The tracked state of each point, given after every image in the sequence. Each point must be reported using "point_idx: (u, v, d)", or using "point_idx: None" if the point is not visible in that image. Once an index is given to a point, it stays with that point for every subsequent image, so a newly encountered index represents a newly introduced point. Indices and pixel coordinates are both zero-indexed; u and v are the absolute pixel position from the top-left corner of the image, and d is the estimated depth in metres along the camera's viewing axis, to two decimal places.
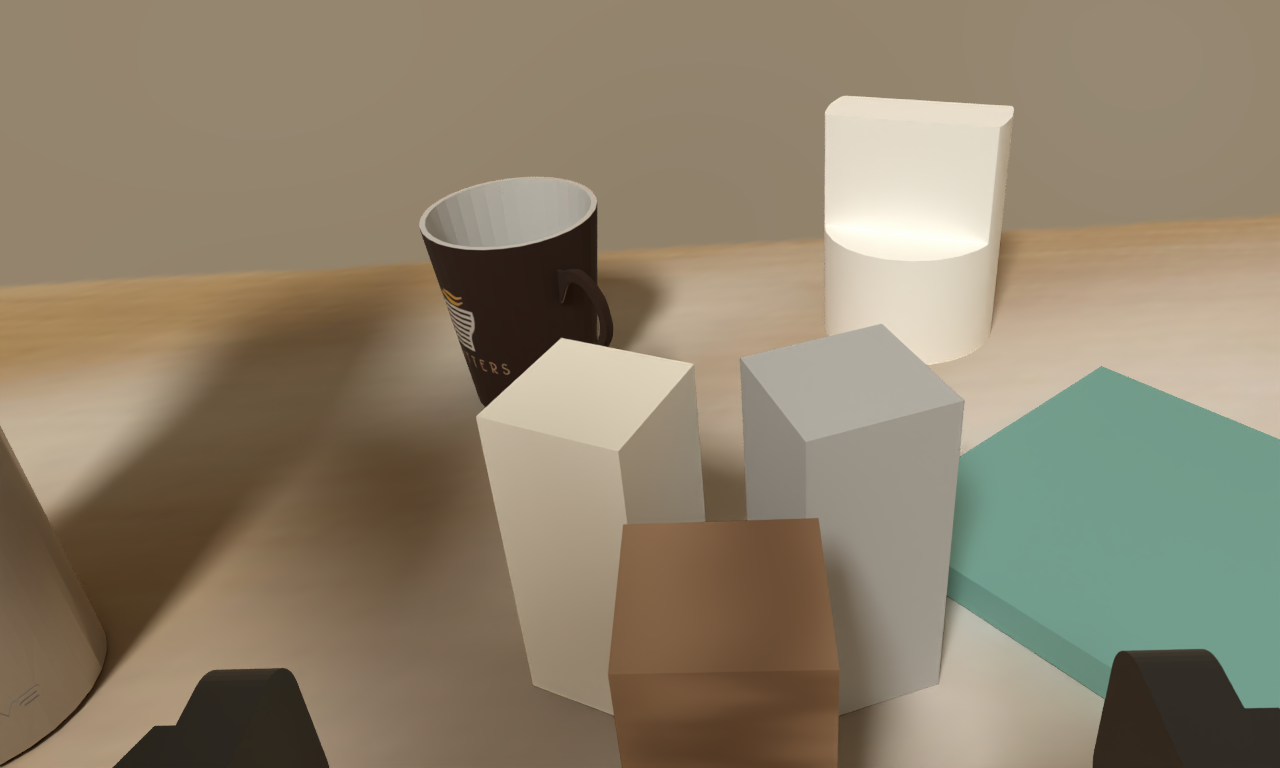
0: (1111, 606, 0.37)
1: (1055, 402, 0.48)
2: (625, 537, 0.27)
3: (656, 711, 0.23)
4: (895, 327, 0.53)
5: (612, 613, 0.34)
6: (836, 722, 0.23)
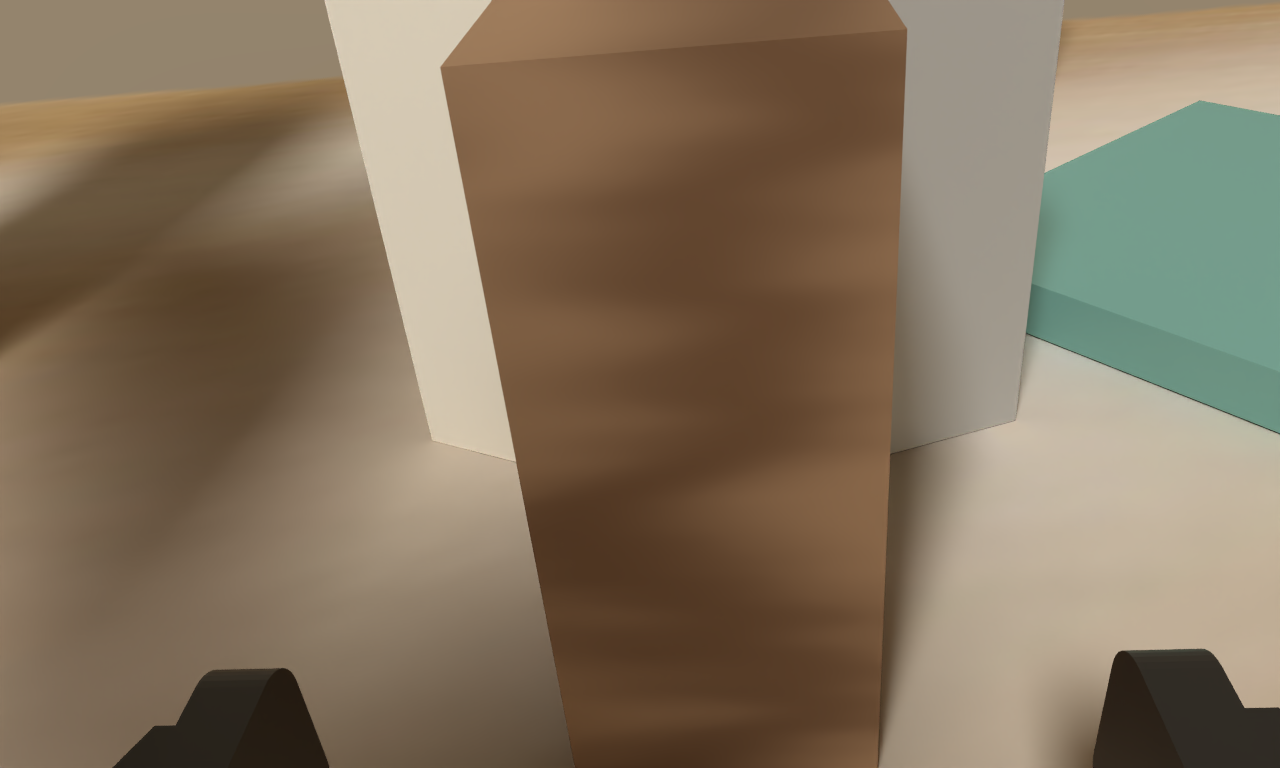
0: (1265, 310, 0.26)
1: (1145, 132, 0.36)
2: None
3: (544, 167, 0.12)
4: None
5: None
6: (897, 184, 0.12)
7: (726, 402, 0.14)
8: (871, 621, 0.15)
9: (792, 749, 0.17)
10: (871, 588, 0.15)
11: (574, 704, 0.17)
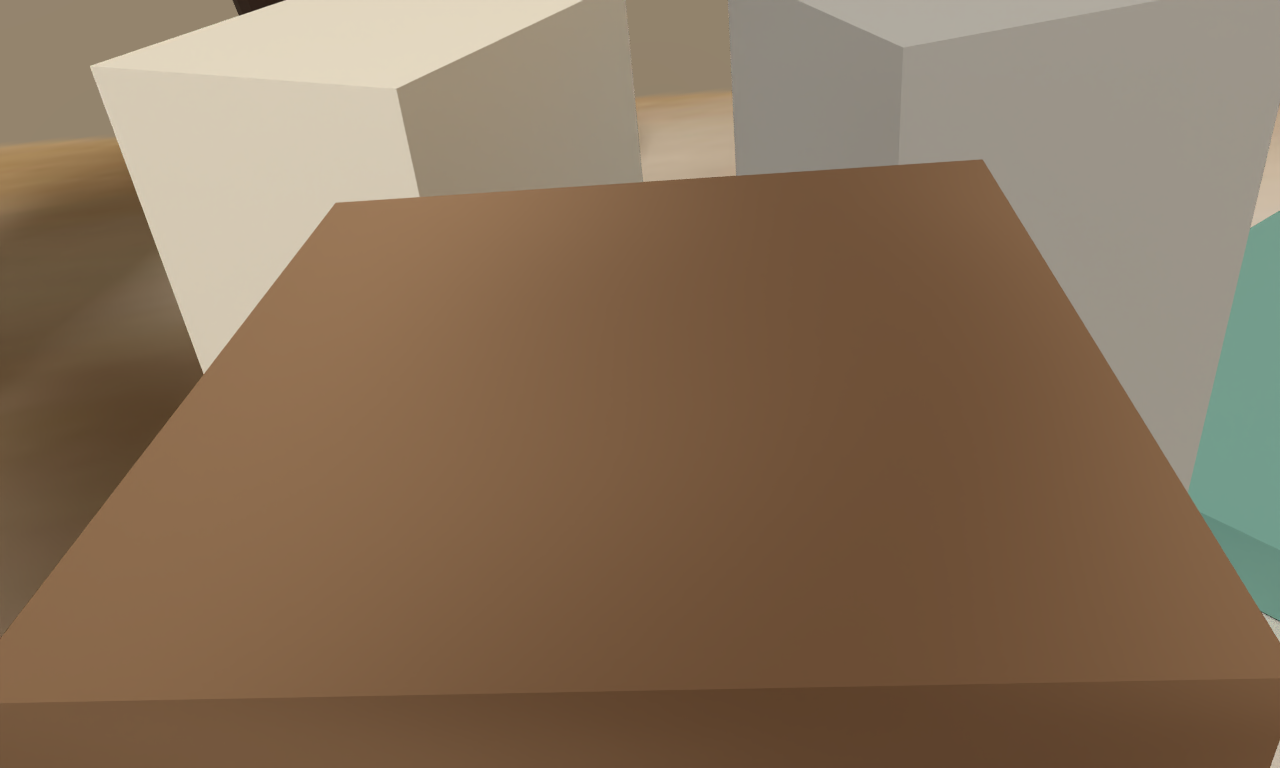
0: None
1: (1254, 236, 0.29)
2: (328, 228, 0.08)
3: None
4: None
5: None
6: None
7: None
8: None
9: None
10: None
11: None
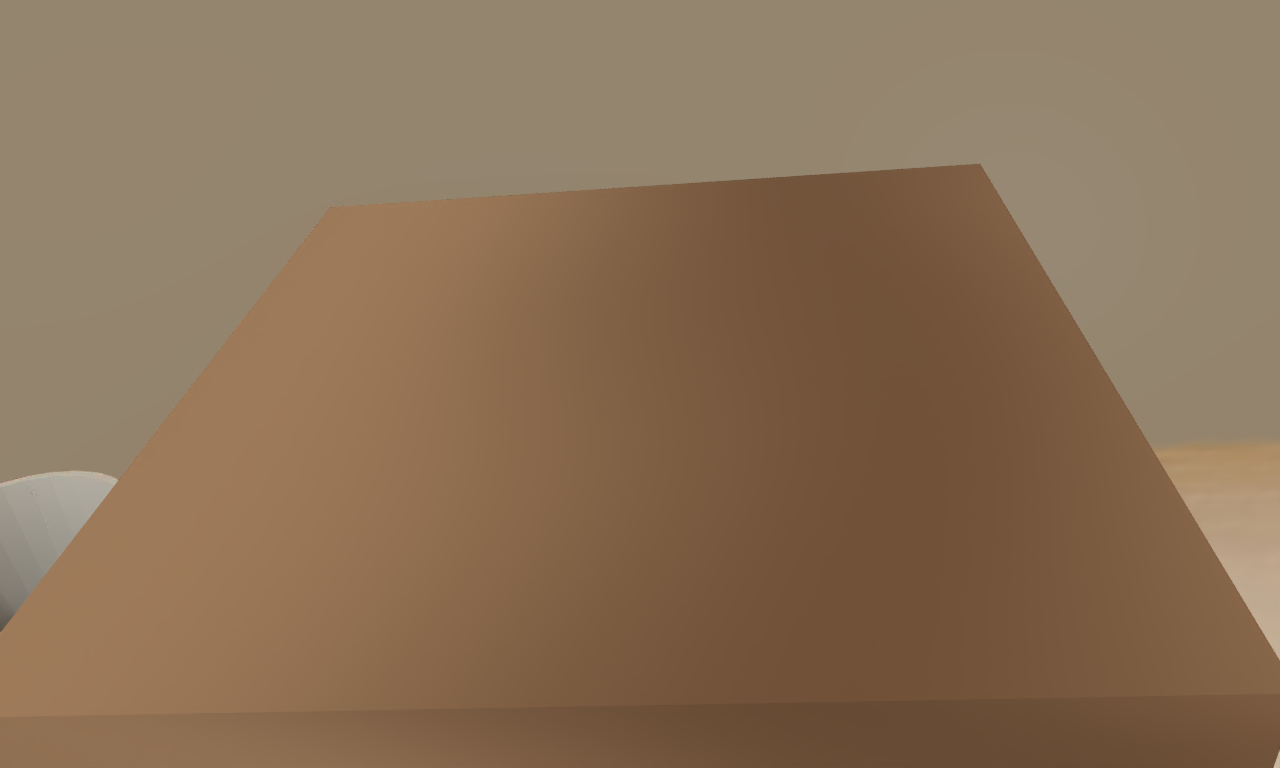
0: None
1: None
2: (322, 233, 0.08)
3: None
4: None
5: None
6: None
7: None
8: None
9: None
10: None
11: None
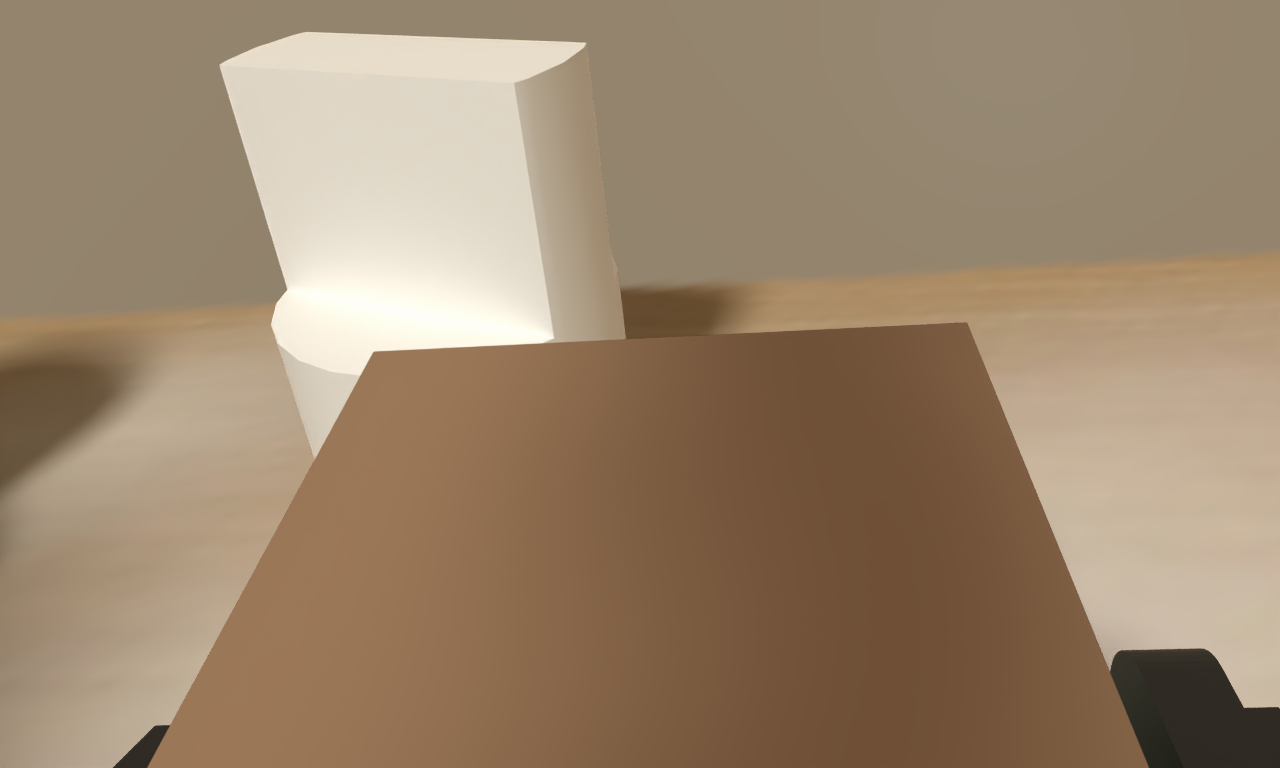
0: None
1: None
2: (367, 382, 0.09)
3: None
4: None
5: None
6: None
7: None
8: None
9: None
10: None
11: None
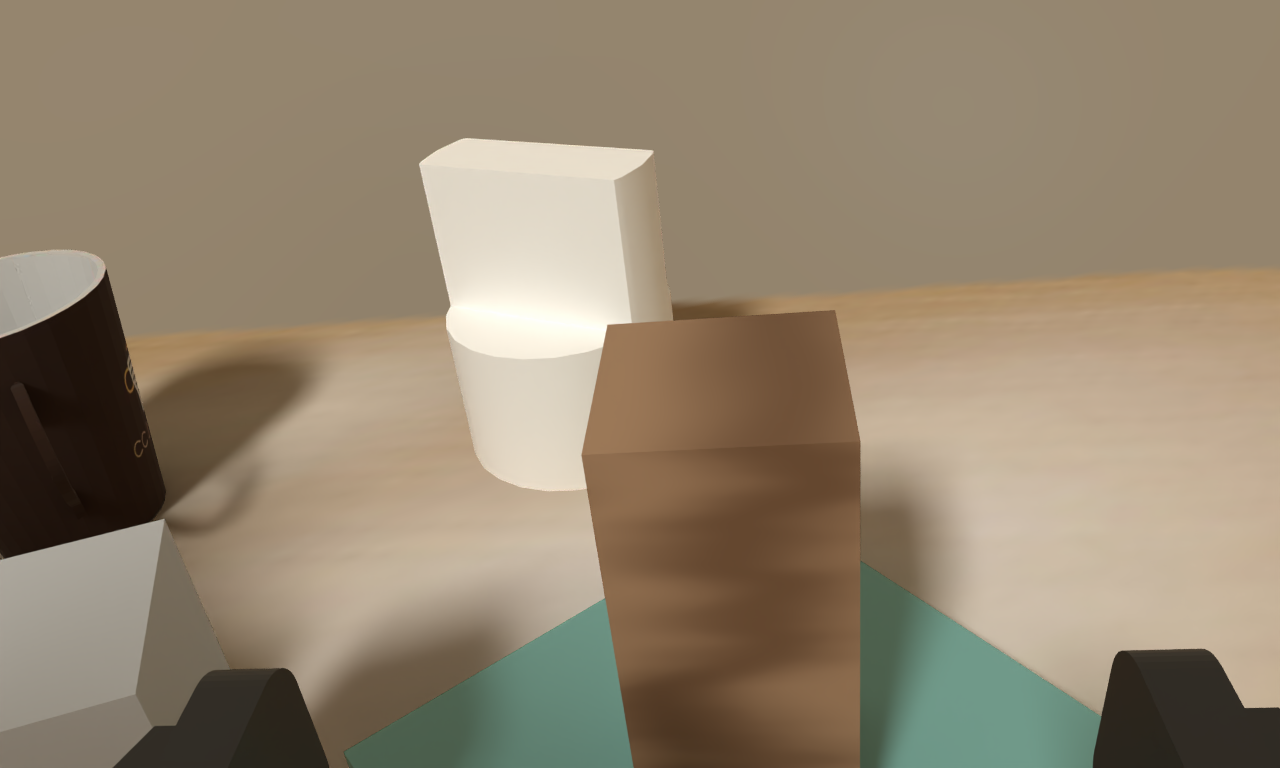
0: None
1: None
2: (609, 335, 0.23)
3: (641, 505, 0.20)
4: (525, 442, 0.40)
5: None
6: (857, 517, 0.19)
7: (754, 632, 0.21)
8: (852, 761, 0.23)
9: None
10: (851, 741, 0.23)
11: None
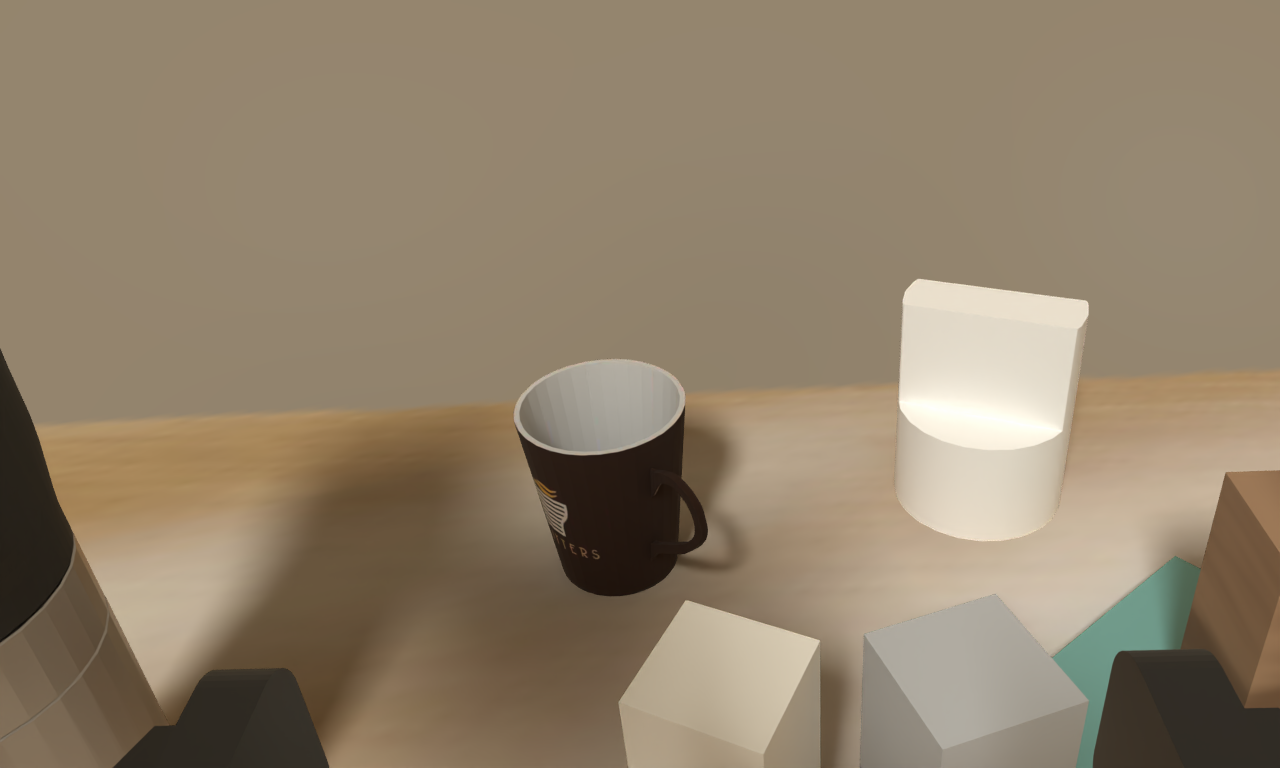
0: None
1: (1133, 599, 0.49)
2: (1234, 480, 0.38)
3: None
4: (970, 506, 0.55)
5: None
6: None
7: None
8: None
9: None
10: None
11: None
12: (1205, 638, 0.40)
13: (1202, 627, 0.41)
